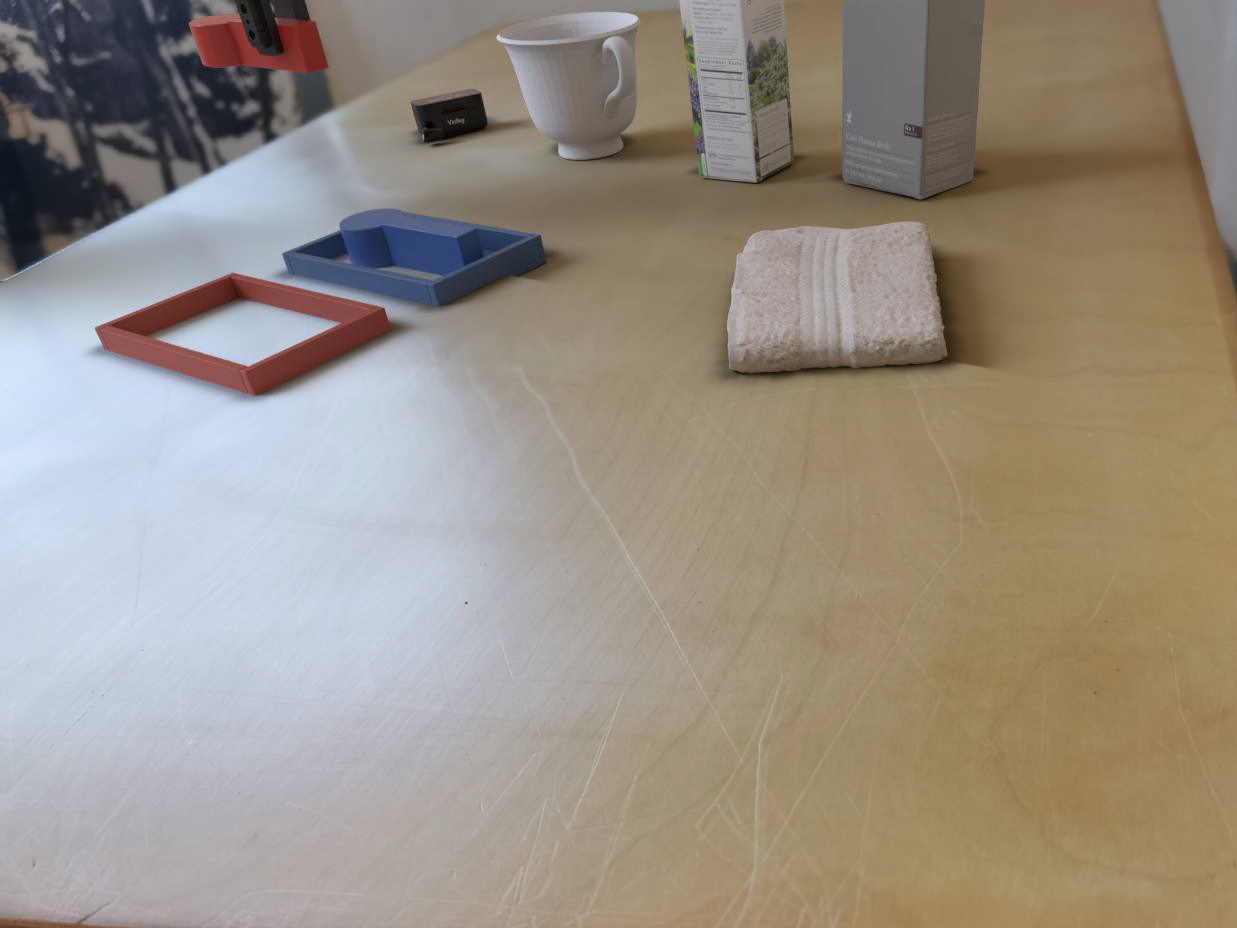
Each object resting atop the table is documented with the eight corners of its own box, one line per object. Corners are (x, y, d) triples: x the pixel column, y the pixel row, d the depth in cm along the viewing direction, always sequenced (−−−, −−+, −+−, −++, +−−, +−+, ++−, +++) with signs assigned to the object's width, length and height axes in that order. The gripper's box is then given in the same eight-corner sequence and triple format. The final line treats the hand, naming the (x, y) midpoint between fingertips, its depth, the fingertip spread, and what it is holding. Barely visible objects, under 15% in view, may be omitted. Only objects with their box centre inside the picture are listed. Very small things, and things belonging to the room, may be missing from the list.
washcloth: (928, 254, 74) (927, 206, 72) (953, 374, 59) (953, 318, 57) (746, 266, 74) (741, 218, 72) (728, 388, 60) (721, 333, 58)
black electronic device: (410, 139, 108) (400, 103, 106) (481, 123, 111) (473, 88, 109) (425, 148, 105) (415, 111, 103) (498, 132, 108) (489, 95, 106)
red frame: (107, 356, 70) (93, 327, 69) (243, 299, 76) (232, 272, 75) (258, 403, 63) (245, 372, 61) (394, 337, 69) (384, 307, 68)
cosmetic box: (840, 184, 87) (828, -52, 77) (902, 161, 91) (898, -68, 81) (924, 204, 82) (921, -47, 72) (986, 178, 85) (991, -64, 76)
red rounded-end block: (190, 65, 83) (174, 20, 81) (241, 52, 86) (227, 8, 84) (293, 77, 78) (278, 30, 76) (343, 63, 81) (330, 17, 79)
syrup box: (738, 158, 95) (716, -40, 86) (797, 164, 92) (782, -39, 83) (698, 178, 91) (672, -26, 82) (759, 185, 88) (739, -26, 79)
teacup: (583, 187, 91) (557, 51, 85) (498, 155, 101) (470, 31, 95) (704, 152, 97) (688, 23, 91) (614, 125, 106) (594, 6, 100)
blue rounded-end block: (338, 265, 79) (324, 222, 77) (387, 244, 82) (374, 202, 80) (454, 289, 74) (442, 243, 72) (502, 266, 76) (491, 221, 75)
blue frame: (290, 280, 78) (281, 253, 77) (399, 235, 85) (391, 209, 84) (440, 314, 71) (432, 284, 70) (546, 262, 78) (541, 234, 77)
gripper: (246, -255, 76) (329, 29, 86) (48, -247, 67) (167, 70, 77) (319, -264, 73) (396, 33, 83) (120, -257, 64) (235, 76, 74)
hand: (285, 50), depth 80 cm, fingers closed on red rounded-end block, 2 cm apart
